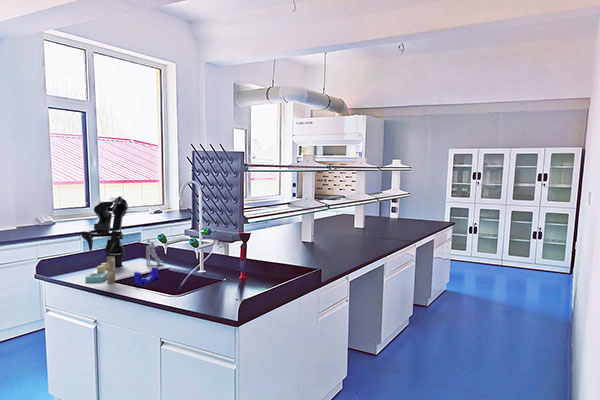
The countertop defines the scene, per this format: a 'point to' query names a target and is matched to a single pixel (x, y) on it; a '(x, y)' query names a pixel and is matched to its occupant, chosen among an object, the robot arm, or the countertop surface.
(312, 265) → the countertop surface
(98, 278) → the pin board
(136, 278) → the blue saddle block
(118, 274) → the countertop surface
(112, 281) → the birch pin
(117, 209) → the robot arm
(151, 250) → the clamp
